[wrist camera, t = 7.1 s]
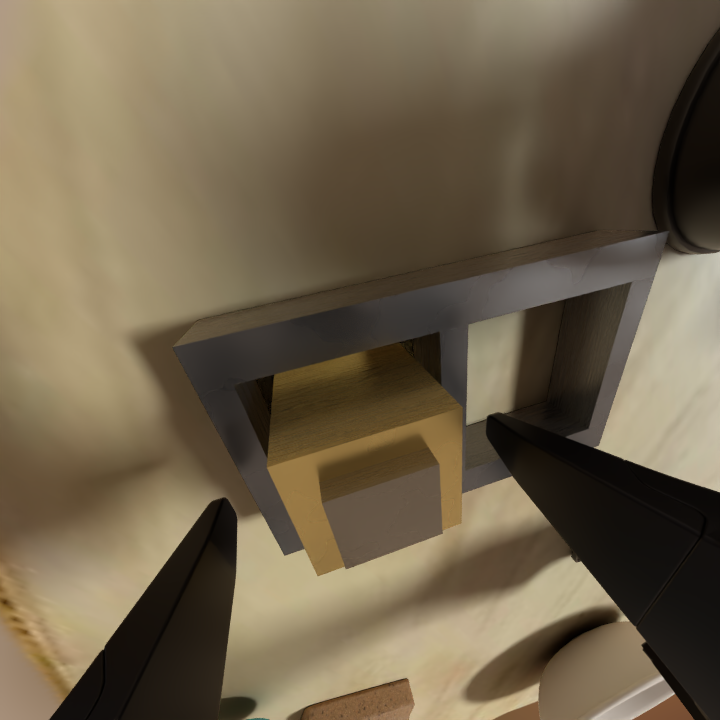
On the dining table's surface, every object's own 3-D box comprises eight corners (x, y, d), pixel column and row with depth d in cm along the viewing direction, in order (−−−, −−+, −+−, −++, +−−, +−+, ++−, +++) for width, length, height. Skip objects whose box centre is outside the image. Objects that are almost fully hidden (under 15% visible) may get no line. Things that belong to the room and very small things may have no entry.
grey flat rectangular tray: (598, 230, 11) (669, 230, 9) (557, 417, 16) (598, 445, 14) (198, 320, 9) (172, 347, 7) (284, 505, 14) (284, 555, 12)
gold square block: (394, 338, 11) (476, 422, 6) (405, 428, 14) (471, 540, 9) (274, 369, 11) (264, 489, 6) (307, 459, 13) (319, 598, 8)
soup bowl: (528, 691, 45) (563, 759, 39) (477, 669, 34) (517, 761, 28) (656, 614, 43) (713, 673, 38) (649, 563, 32) (730, 638, 26)
